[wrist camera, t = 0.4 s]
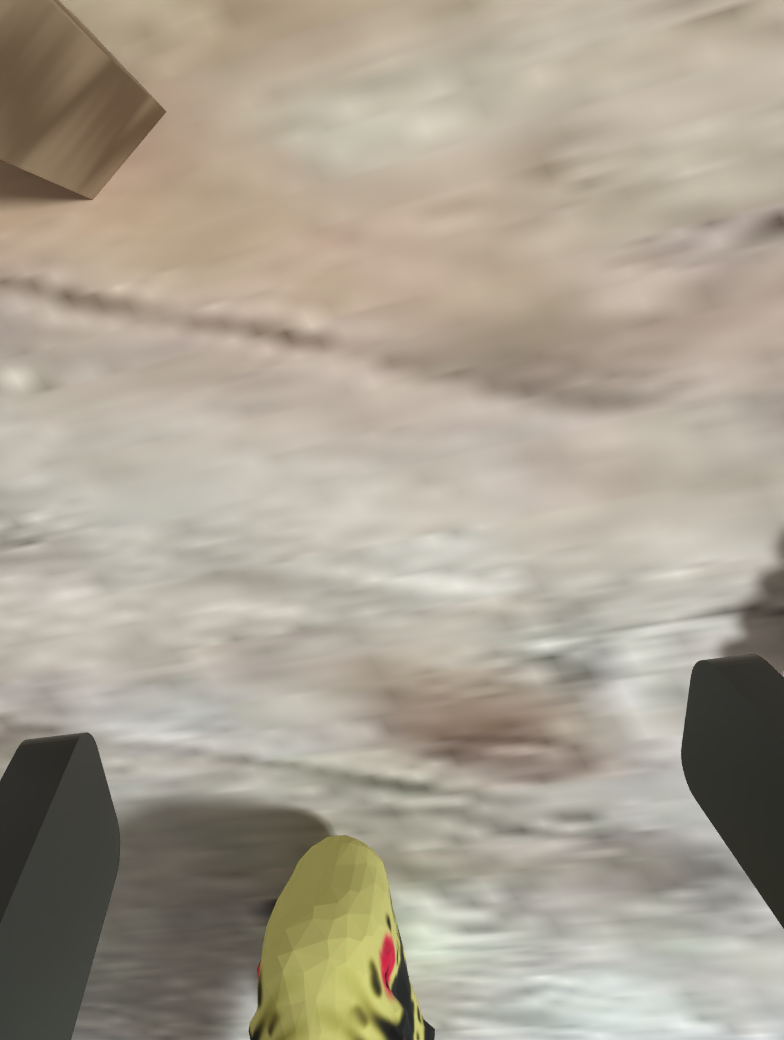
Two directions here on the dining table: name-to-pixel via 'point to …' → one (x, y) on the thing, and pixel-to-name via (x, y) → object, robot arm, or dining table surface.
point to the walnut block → (66, 99)
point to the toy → (336, 954)
